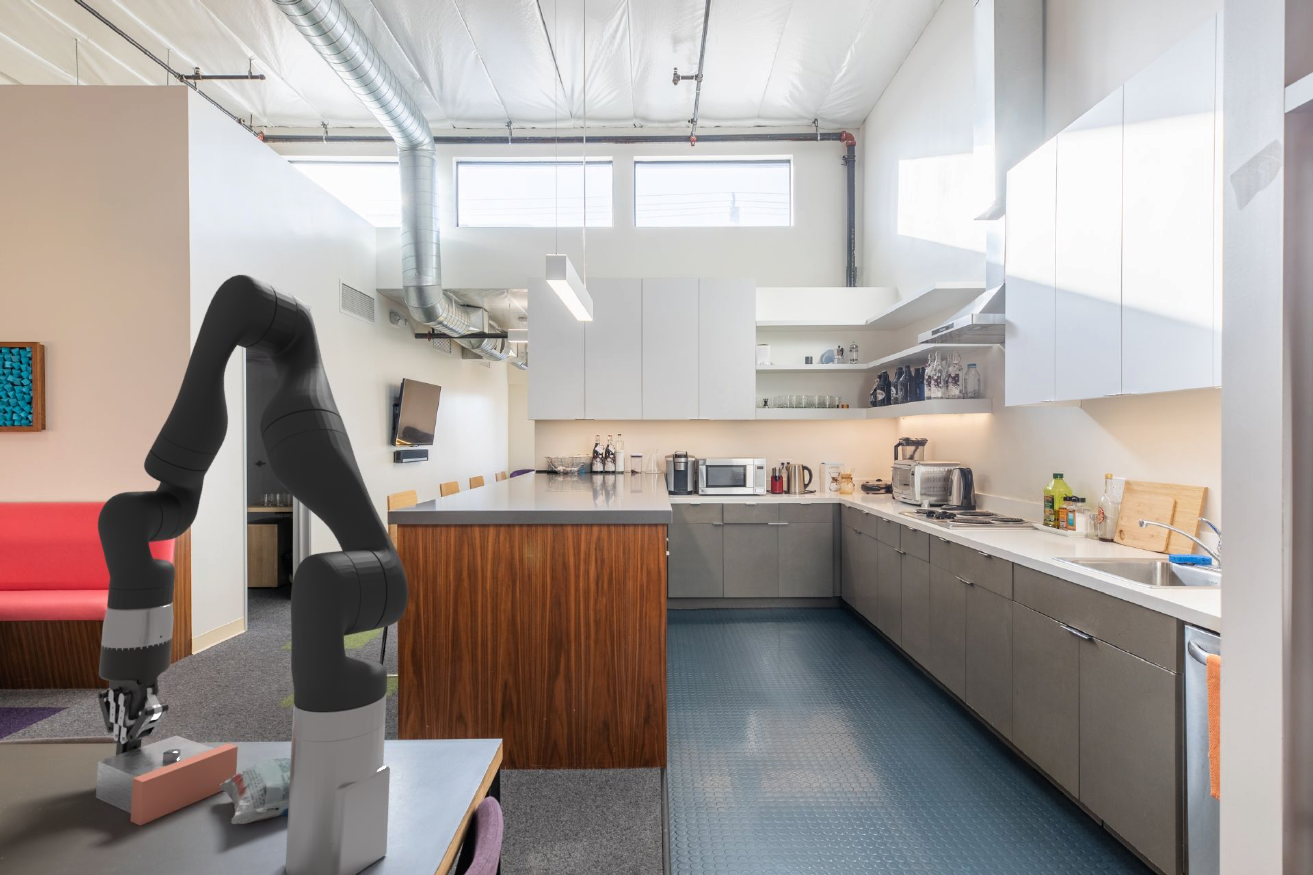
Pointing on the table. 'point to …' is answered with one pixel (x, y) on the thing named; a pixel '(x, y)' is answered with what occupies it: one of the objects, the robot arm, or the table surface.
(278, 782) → the packaged food
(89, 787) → the table surface
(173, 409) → the robot arm
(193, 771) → the salmon angled bracket
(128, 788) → the metal block with knob
